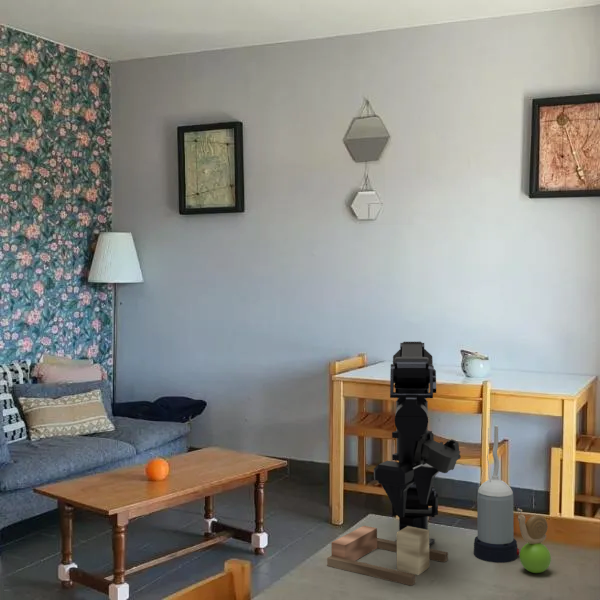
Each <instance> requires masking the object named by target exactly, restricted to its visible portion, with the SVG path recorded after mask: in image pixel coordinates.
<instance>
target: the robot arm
mask: <svg viewBox="0 0 600 600" xmlns="http://www.w3.org/2000/svg"><path fill="white" fill-rule="evenodd" d="M399 347H400V348H399V350H397V351H396V352H395V353H394V354H393V355H392V363H390V376H389V377H390V380H389V381H390V382H389V383H390V385H389V396H390V399H396V401H395V408H396V409H395V415H394V425H395V428H396V430H394V431H392V432H391V438H392V439H396V440H395V441H396V452H395V453H393V454H391V460H385V461H383V462H381V463H378V464H377V465H376V466H375V467H374V468H373V479H374V481H377V483H378V484H380V485H381V487H382V488H383V490H384V492H385V493H386V495H387V498H388V499H389V501H390V503H391V509H392V510H391V513H392V515H391V516H392V517H396V516H397V517H398V531H400V530H402V529H403V528H405V527H407V526H410V527H415V528H421V529H426V530H429V517H430V518H435V516H438V515H439V493H438V492H437V491H436V489H435V486H434V485H433V484H434V481H435V478H436V476H437V475H438V474H439V473H442V474H447V473H449V472H450V471H453V470H454V469H455V466H456V465H457V462H458V460H461V451H460V445H459V442H458V441H456V440H455V439H449V440H447V441H446V442H445V443H444V442H442V441H440V442H439V441H437V440H435V439H434V433H433V431H432V430H428V429H429V428H428V426H429V411H428V410H429V408H428V404H429V403H428V400H427V399H434V394H437V371H436V369H435V367H434V365H433V355H432V354H431V353H430V352H429V351H427V349H425V342H422V341H402V342H400V343H399ZM394 389H395V390H394ZM394 541H395V542H397V539H395V540H394ZM434 543H436V540H435V538H430V537H429V546H431V545H433V544H434Z"/></svg>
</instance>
